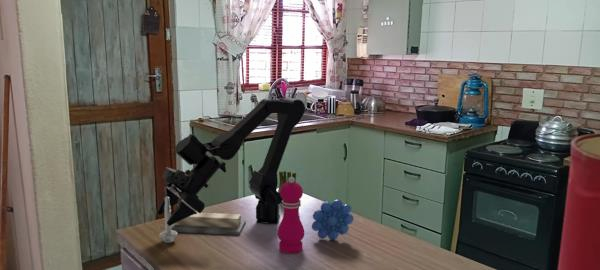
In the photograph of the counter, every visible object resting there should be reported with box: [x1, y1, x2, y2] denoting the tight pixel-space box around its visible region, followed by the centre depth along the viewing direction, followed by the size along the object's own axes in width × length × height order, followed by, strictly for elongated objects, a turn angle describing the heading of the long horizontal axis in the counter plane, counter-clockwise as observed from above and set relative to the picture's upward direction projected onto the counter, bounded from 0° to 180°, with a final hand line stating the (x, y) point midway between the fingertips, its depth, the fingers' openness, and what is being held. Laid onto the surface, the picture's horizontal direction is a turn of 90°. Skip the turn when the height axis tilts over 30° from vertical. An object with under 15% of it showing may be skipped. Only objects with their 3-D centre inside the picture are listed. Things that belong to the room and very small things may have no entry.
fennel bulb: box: [277, 170, 297, 205], centre depth 157 cm, size 6×5×12 cm
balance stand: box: [171, 212, 247, 236], centre depth 137 cm, size 21×9×4 cm, turn 85°
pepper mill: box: [276, 176, 305, 254], centre depth 122 cm, size 7×7×20 cm
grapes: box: [311, 198, 354, 241], centre depth 130 cm, size 12×7×12 cm, turn 85°
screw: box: [158, 196, 179, 244], centre depth 126 cm, size 13×5×5 cm
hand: (162, 219), depth 126 cm, fingers open, 9 cm apart
